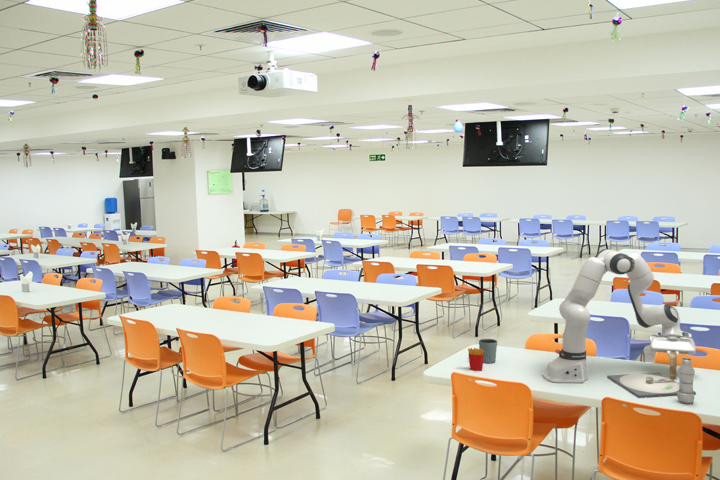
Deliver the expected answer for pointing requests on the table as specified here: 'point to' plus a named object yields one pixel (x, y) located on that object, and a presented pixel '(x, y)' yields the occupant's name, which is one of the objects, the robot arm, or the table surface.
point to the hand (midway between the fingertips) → (673, 360)
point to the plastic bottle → (686, 381)
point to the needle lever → (672, 370)
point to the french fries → (476, 359)
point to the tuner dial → (646, 385)
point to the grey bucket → (488, 350)
